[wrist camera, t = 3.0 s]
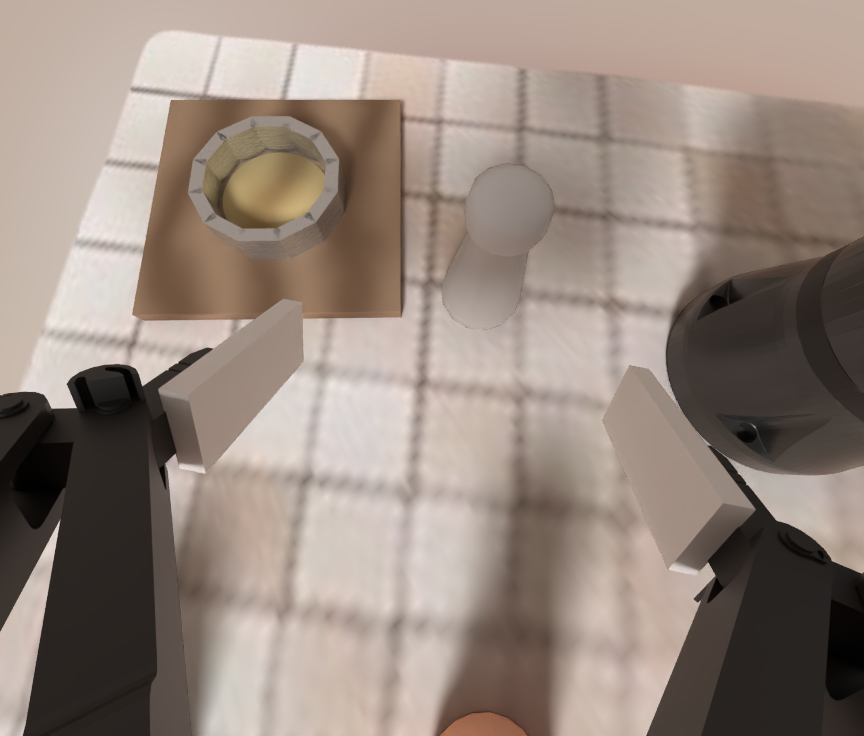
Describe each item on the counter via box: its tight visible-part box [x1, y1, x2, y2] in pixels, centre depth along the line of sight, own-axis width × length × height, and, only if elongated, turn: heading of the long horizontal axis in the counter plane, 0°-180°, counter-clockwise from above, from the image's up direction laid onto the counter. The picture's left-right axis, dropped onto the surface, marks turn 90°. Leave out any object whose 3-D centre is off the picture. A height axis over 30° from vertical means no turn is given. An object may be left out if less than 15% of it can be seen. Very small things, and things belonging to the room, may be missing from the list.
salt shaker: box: [441, 164, 555, 330], centre depth 23 cm, size 6×6×13 cm
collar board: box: [132, 100, 401, 320], centre depth 30 cm, size 20×20×4 cm
